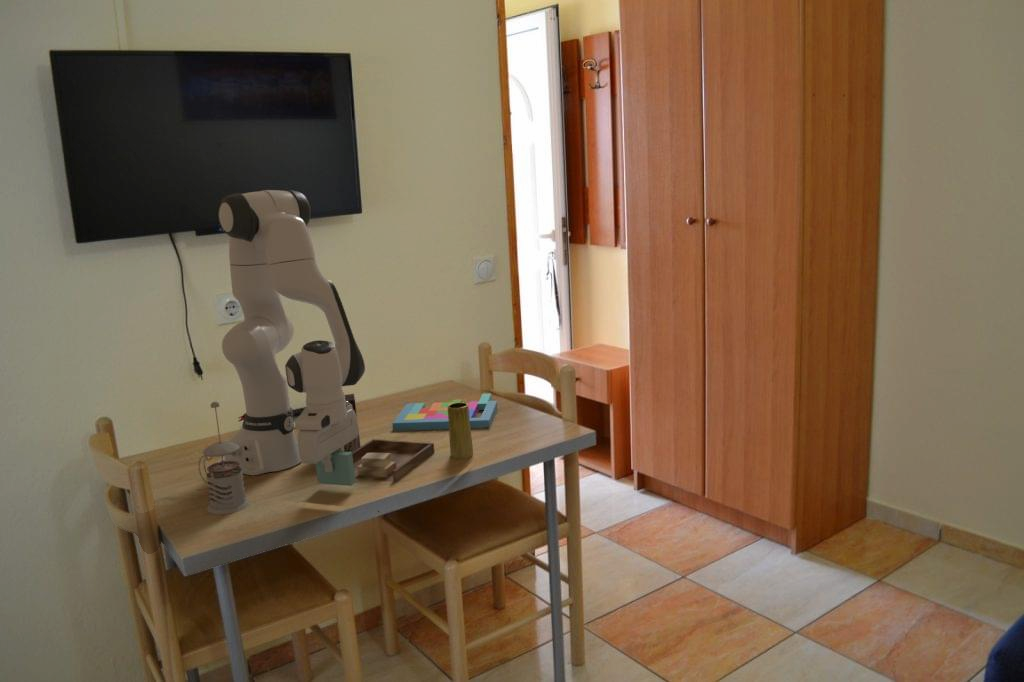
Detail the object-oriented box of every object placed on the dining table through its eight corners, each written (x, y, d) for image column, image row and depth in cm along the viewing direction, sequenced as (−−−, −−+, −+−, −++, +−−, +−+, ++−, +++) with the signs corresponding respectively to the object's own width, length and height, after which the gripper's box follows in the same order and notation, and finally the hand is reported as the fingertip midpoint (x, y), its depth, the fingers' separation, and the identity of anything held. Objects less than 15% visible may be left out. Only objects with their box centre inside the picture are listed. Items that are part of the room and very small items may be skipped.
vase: (452, 464, 218) (447, 409, 215) (448, 456, 224) (444, 403, 221) (476, 460, 219) (471, 406, 216) (471, 453, 225) (467, 400, 222)
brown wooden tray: (331, 479, 212) (329, 466, 211) (374, 451, 231) (373, 438, 230) (396, 485, 206) (394, 471, 205) (434, 455, 225) (433, 443, 224)
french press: (231, 516, 194) (216, 409, 188) (191, 510, 198) (175, 406, 193) (259, 499, 202) (246, 396, 197) (221, 494, 207) (207, 394, 202)
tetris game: (489, 429, 245) (500, 401, 272) (489, 420, 245) (500, 393, 272) (393, 432, 248) (413, 404, 276) (392, 423, 248) (412, 396, 275)
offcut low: (358, 475, 211) (357, 466, 211) (368, 467, 216) (367, 459, 215) (386, 477, 208) (385, 469, 208) (396, 470, 213) (395, 461, 213)
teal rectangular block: (318, 483, 203) (314, 453, 202) (322, 480, 205) (318, 450, 203) (351, 485, 200) (347, 455, 198) (355, 482, 202) (352, 452, 200)
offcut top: (362, 466, 211) (361, 458, 210) (368, 461, 214) (367, 452, 214) (385, 467, 209) (384, 458, 209) (391, 461, 213) (390, 453, 212)
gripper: (339, 398, 209) (345, 452, 212) (290, 424, 191) (298, 483, 194) (361, 399, 207) (368, 454, 210) (314, 425, 189) (322, 485, 191)
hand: (334, 468), depth 202 cm, fingers closed on teal rectangular block, 2 cm apart
